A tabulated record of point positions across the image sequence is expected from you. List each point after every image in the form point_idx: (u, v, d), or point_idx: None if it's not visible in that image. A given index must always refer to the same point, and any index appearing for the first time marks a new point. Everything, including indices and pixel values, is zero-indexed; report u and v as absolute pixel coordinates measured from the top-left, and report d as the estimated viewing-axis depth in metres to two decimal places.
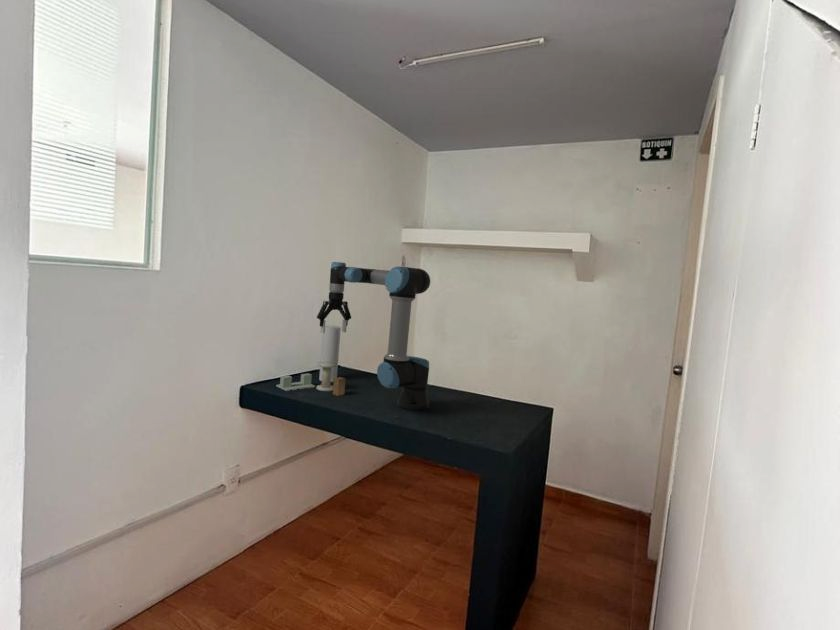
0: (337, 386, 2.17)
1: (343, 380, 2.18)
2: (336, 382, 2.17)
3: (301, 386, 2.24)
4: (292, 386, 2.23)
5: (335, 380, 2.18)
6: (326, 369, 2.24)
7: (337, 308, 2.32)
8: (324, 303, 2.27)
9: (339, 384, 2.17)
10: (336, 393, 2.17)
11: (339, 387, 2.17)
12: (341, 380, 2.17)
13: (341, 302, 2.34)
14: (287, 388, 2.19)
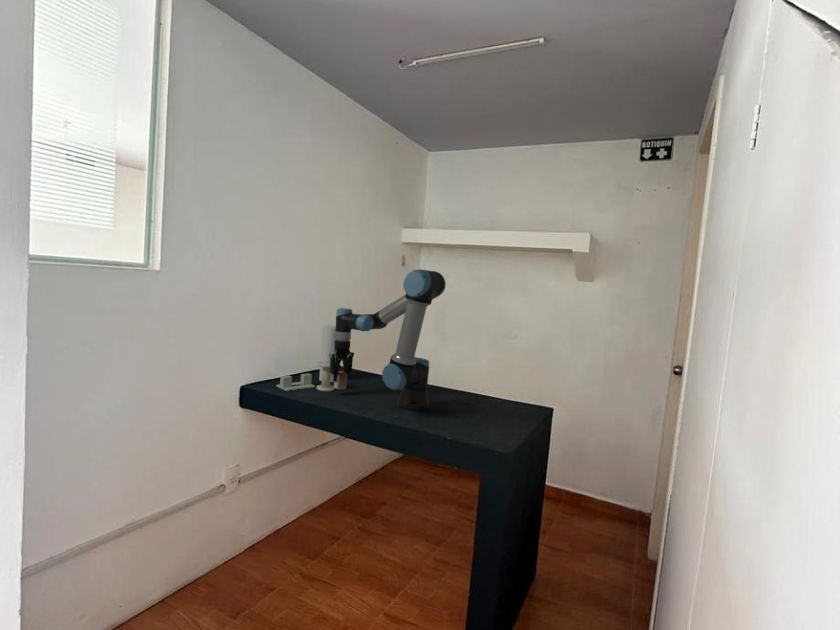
0: None
1: (344, 373, 2.18)
2: None
3: (301, 386, 2.24)
4: (292, 386, 2.23)
5: None
6: (326, 369, 2.24)
7: (344, 357, 2.18)
8: (331, 357, 2.13)
9: (340, 378, 2.16)
10: None
11: (341, 381, 2.17)
12: (342, 373, 2.17)
13: (348, 350, 2.19)
14: (287, 388, 2.19)
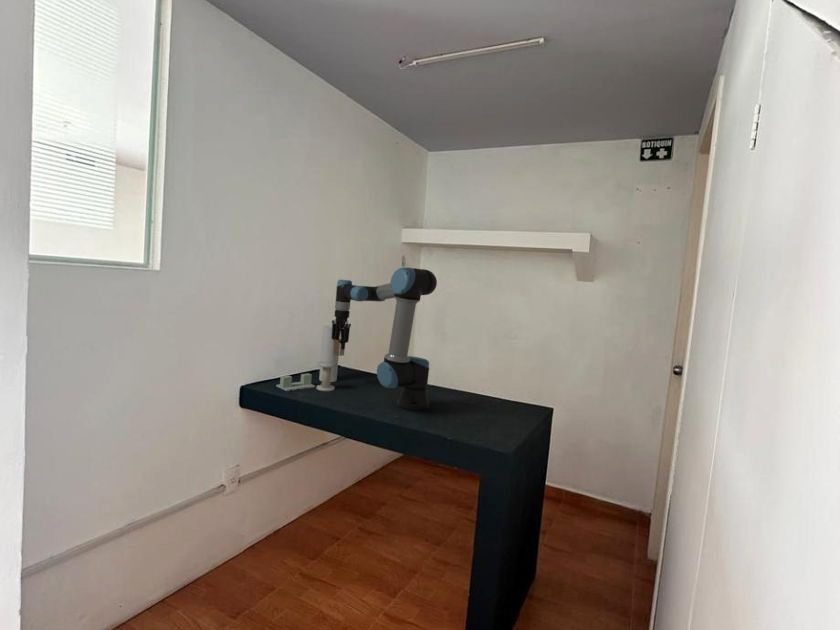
0: None
1: (337, 341, 2.30)
2: None
3: (301, 386, 2.24)
4: (292, 386, 2.23)
5: None
6: (326, 369, 2.24)
7: (340, 326, 2.30)
8: None
9: (334, 343, 2.31)
10: None
11: (334, 347, 2.31)
12: (336, 340, 2.30)
13: (343, 320, 2.28)
14: (287, 388, 2.19)
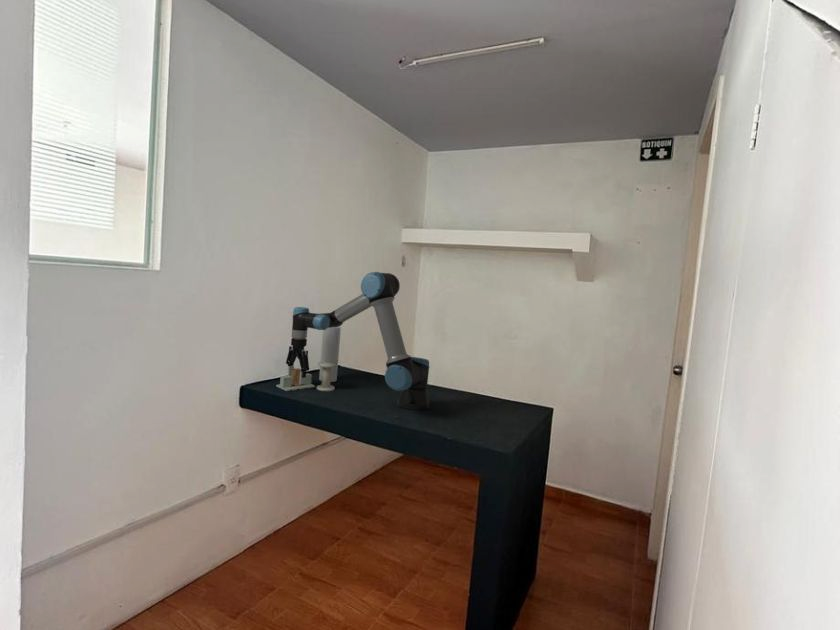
0: None
1: (294, 371, 2.23)
2: None
3: (301, 386, 2.24)
4: (292, 386, 2.23)
5: None
6: (326, 369, 2.24)
7: (296, 355, 2.23)
8: None
9: (291, 374, 2.25)
10: None
11: None
12: (293, 370, 2.24)
13: (299, 349, 2.21)
14: (287, 388, 2.19)
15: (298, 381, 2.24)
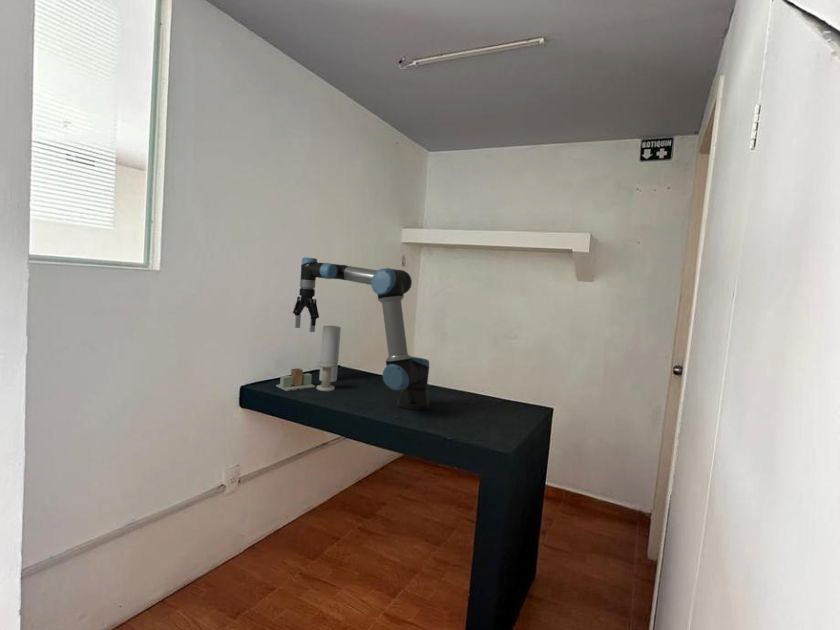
0: None
1: (294, 371, 2.23)
2: None
3: (301, 386, 2.24)
4: (292, 386, 2.23)
5: None
6: (326, 369, 2.24)
7: (305, 305, 2.25)
8: None
9: (291, 374, 2.25)
10: None
11: None
12: (293, 370, 2.24)
13: (308, 299, 2.24)
14: (287, 388, 2.19)
15: (298, 381, 2.24)
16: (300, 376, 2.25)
